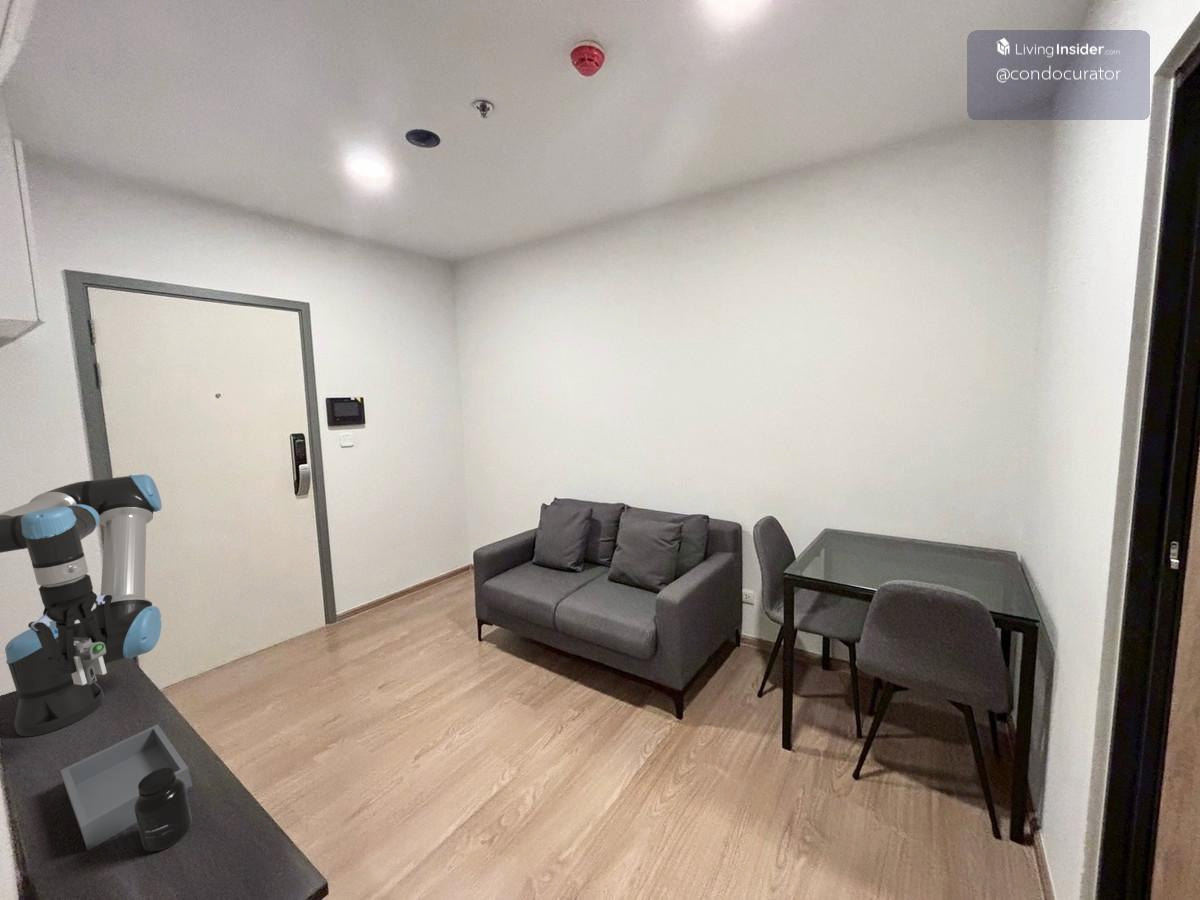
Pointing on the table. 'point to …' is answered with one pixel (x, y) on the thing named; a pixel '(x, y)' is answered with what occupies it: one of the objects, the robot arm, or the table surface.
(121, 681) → the table surface
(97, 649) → the mechanical component
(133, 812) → the bin
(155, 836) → the supplement bottle
